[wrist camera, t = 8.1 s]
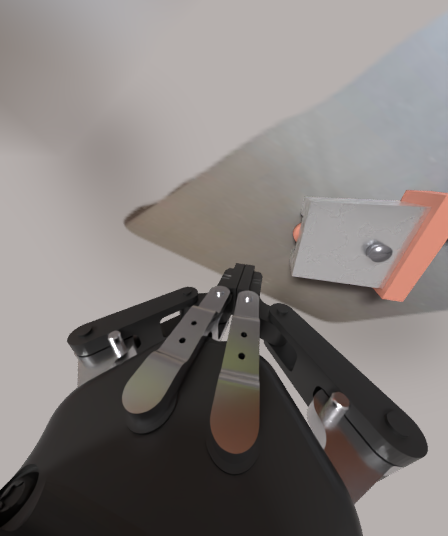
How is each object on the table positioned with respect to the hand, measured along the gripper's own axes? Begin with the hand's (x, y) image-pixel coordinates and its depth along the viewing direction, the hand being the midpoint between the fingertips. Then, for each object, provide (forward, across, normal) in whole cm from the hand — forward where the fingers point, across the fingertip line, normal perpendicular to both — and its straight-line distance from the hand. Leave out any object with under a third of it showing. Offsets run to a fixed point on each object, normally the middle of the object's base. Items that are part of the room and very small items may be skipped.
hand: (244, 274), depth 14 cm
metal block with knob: (+13, -10, 0) cm, 16 cm away
